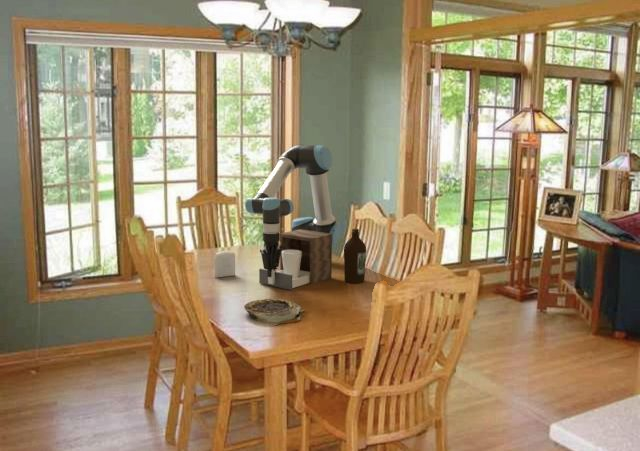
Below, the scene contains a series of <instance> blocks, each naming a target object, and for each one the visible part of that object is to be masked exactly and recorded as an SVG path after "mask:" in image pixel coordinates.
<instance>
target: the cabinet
mask: <svg viewBox="0 0 640 451" xmlns="http://www.w3.org/2000/svg"><path fill="white" fill-rule="evenodd" d="M279 243H280V244H279V245H280V246H282V250H281V254H280V260H279V266H280V267H279V268H280V270H284V268H283V260H282V251H284V250H300V251H302V257H301V263H300V270H302V271H308V272H310V283H309V284H311V285H313V284H317V283H319V282H320V283H321V282H323V281H325V280H328V279H331V278H332V266H333V265H332V262H333V261H332V258H333V257H332V255H333V254H332V253H333V252H332V251H333V250H332V249H333V244H332V234H329V233H322V232H316V231H309V230H302V229H299V230H294V231H292V230H290V231H285V232H282V233H280V240H279ZM280 270H279V271H280Z"/></svg>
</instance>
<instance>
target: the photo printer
mask: <svg viewBox="0 0 640 451" xmlns="http://www.w3.org/2000/svg"><path fill="white" fill-rule="evenodd" d="M234 276H236V254H235V252H234V251H232V250H222V251H219V252H216V253H215V254H214V277H215V278H223V277H234Z"/></svg>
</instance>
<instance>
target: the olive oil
mask: <svg viewBox="0 0 640 451" xmlns="http://www.w3.org/2000/svg"><path fill="white" fill-rule="evenodd" d="M359 229H360V228H352V229H351V231H352V232H351V237H350V238H349V239H348V241H346V242H345V244H344V247H343V263H344V264H343V265H344V270H343V271H344V276H343V277H344V282H345V283H349V284H362V283H364V282H365V277H366V260H367V245H366V243H365V242H363V240H362V239H361V238H360V232H359V231H360V230H359Z"/></svg>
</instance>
